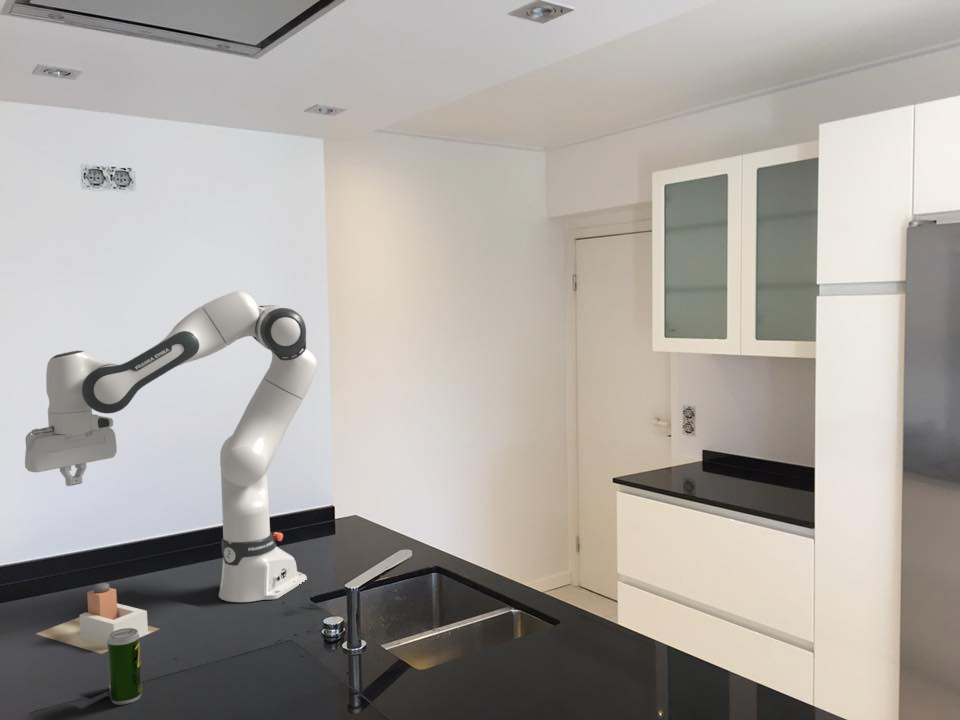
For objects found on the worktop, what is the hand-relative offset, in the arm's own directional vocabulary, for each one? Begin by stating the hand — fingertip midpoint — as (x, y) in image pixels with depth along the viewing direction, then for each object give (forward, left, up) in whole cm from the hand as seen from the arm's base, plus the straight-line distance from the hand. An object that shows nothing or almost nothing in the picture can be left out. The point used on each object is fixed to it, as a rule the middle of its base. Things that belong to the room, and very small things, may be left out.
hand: (74, 484), depth 183 cm
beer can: (+20, +42, -31) cm, 56 cm away
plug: (+5, +15, -29) cm, 33 cm away
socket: (+5, +18, -30) cm, 35 cm away
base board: (+5, +13, -31) cm, 34 cm away
